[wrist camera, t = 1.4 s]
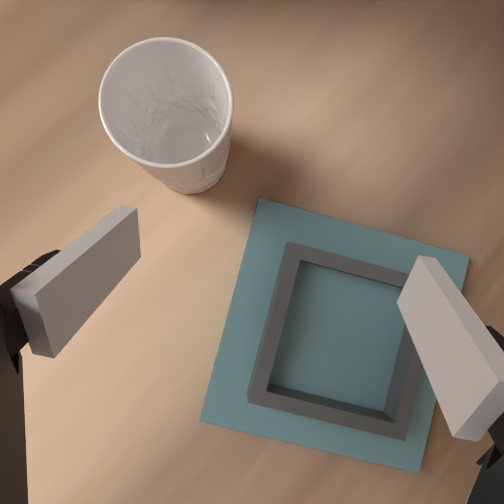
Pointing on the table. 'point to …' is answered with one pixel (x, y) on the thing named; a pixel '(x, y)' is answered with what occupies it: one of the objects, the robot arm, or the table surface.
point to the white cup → (169, 112)
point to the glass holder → (325, 340)
